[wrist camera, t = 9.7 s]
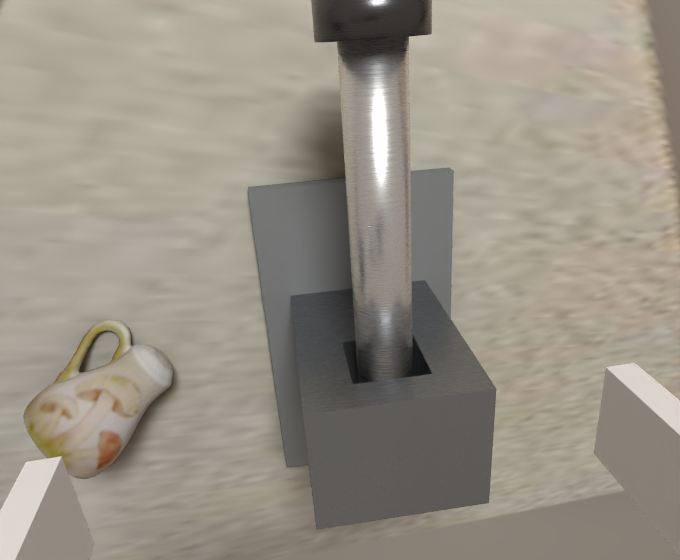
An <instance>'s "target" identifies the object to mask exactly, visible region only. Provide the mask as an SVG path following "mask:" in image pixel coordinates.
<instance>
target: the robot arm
mask: <svg viewBox="0 0 680 560" xmlns="http://www.w3.org/2000/svg"><path fill="white" fill-rule="evenodd" d="M594 454H595V455H596V456H597V457H598V459H599V460H600V461H601V462H602V463H603V465H604V466H605V467H606V468H607V469H608V470H609V472H610V473H611V474H612V475H613V476H614V478H615V479H616V480H617V481H618V482H619V484H620V485H621V486H622V487H623V488H624V490H625V491H626V492H627V493H628V494H629V496H630V497H631V498H632V499H633V500H634V501H635V503H636V504H637V505H638V506H639V508H640V509H641V510H642V511H643V512H644V514H645V515H646V516H647V517H648V518H649V520H650V521H651V522H652V523H653V524H654V525H655V527H656V528H657V529H658V530H659V532H660V533H661V534H662V535H663V536H664V537H665V539H666V540H667V541H668V542H669V544H670V545H671V546H672V547H673V548H674V549H675V551H676V552H677V553H678V554H679V555H680V401H679V400H678V399H677V398H676V397H675V396H673V395H672V394H671V393H670V392H669V391H668V390H666V389H665V388H664V387H663V386H662V385H660V384H659V383H658V382H657V381H656V380H654V379H653V378H652V377H651V376H650V375H648V374H647V373H646V372H645V371H644V370H642V369H641V368H640V367H639V366H638V365H636V364H635V363H630V364H624V365H618V366H612V367H606V371H605V379H604V386H603V393H602V400H601V407H600V414H599V421H598V428H597V435H596V442H595V449H594ZM93 546H94V541H93V538H92V536H91V533H90V530H89V528H88V525H87V522H86V520H85V517H84V514H83V512H82V509H81V506H80V504H79V501H78V498H77V496H76V493H75V491H74V488H73V485H72V483H71V480H70V477H69V475H68V472H67V469H66V467H65V464H64V461H63V459H62V456H60V457H54V458H48V459H42V460H36V461H30V462H26V463H25V465H24V467H23V469H22V471H21V473H20V475H19V476H18V478H17V480H16V482H15V484H14V486H13V488H12V490H11V492H10V494H9V495H8V497H7V499H6V501H5V503H4V505H3V507H2V509H1V511H0V560H89V559H90V555H91V552H92V549H93Z"/></svg>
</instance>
